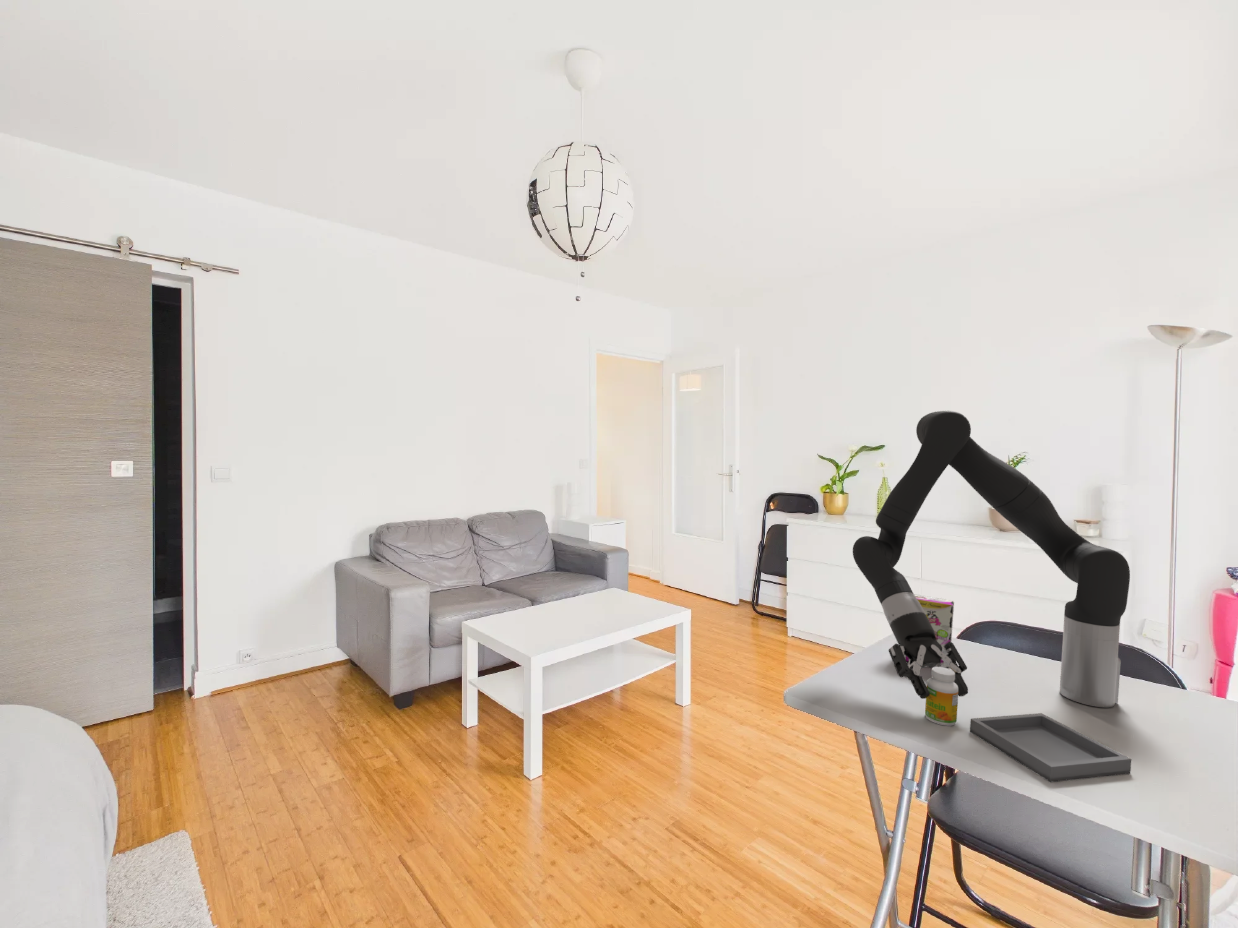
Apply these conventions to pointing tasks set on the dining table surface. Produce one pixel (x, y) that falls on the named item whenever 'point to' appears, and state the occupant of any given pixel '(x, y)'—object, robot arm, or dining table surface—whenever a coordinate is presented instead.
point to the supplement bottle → (942, 697)
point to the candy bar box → (938, 618)
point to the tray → (1050, 747)
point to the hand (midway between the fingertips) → (945, 696)
